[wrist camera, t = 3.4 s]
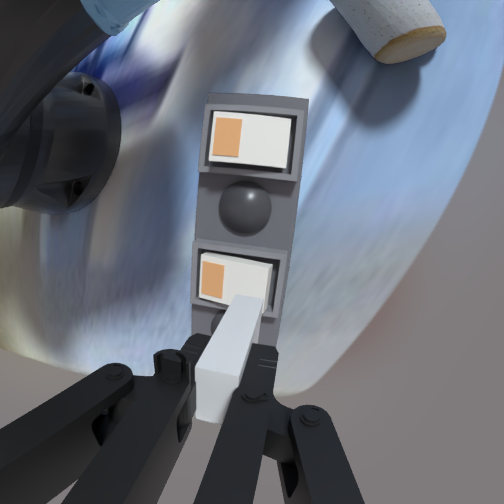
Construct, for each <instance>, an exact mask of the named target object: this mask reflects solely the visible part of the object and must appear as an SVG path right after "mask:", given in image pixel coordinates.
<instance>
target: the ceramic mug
mask: <svg viewBox="0 0 504 504" xmlns="http://www.w3.org/2000/svg"><path fill="white" fill-rule="evenodd" d="M330 2H331V3H332V4H333V5H334V6H335V8H336V9H337V10H338V11H339V13H340V14H341V15H342V16H343V18H344V19H345V20H346V22H347V23H348V24H349V25H350V27H351V28H352V29H353V30H354V32H355V33H356V35H357V36H358V38H359V40H360V41H361V43H362V44H363V45H364V47H365V48H366V49H367V50H368V51H369V52H370V54H371V55H372V56H373V57H374V58H375V59H376V60H377V61H379V62H381V63H385V64H394V63H399V62H403V61H407V60H410V59H413V58H415V57H418V56H421V55H423V54H425V53H428V52H430V51H432V50H433V49H435V48H437V47H438V46H440V45H441V44H442V43H443V42H444V41H445V38H446V31H445V28H444V25H443V23H442V21H441V19H440V17H439V15H438V14H437V12H436V11H435V9H434V8H433V6H432V5H431V4H430V2H429V1H428V0H330Z"/></svg>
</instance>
